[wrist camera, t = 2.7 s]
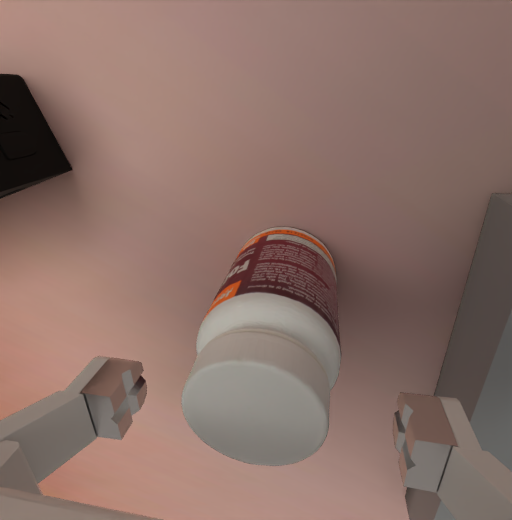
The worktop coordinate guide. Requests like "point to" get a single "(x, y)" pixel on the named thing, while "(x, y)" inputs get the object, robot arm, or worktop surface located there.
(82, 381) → the robot arm
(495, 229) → the tray
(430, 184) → the worktop surface
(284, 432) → the pill bottle
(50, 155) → the digital camera
